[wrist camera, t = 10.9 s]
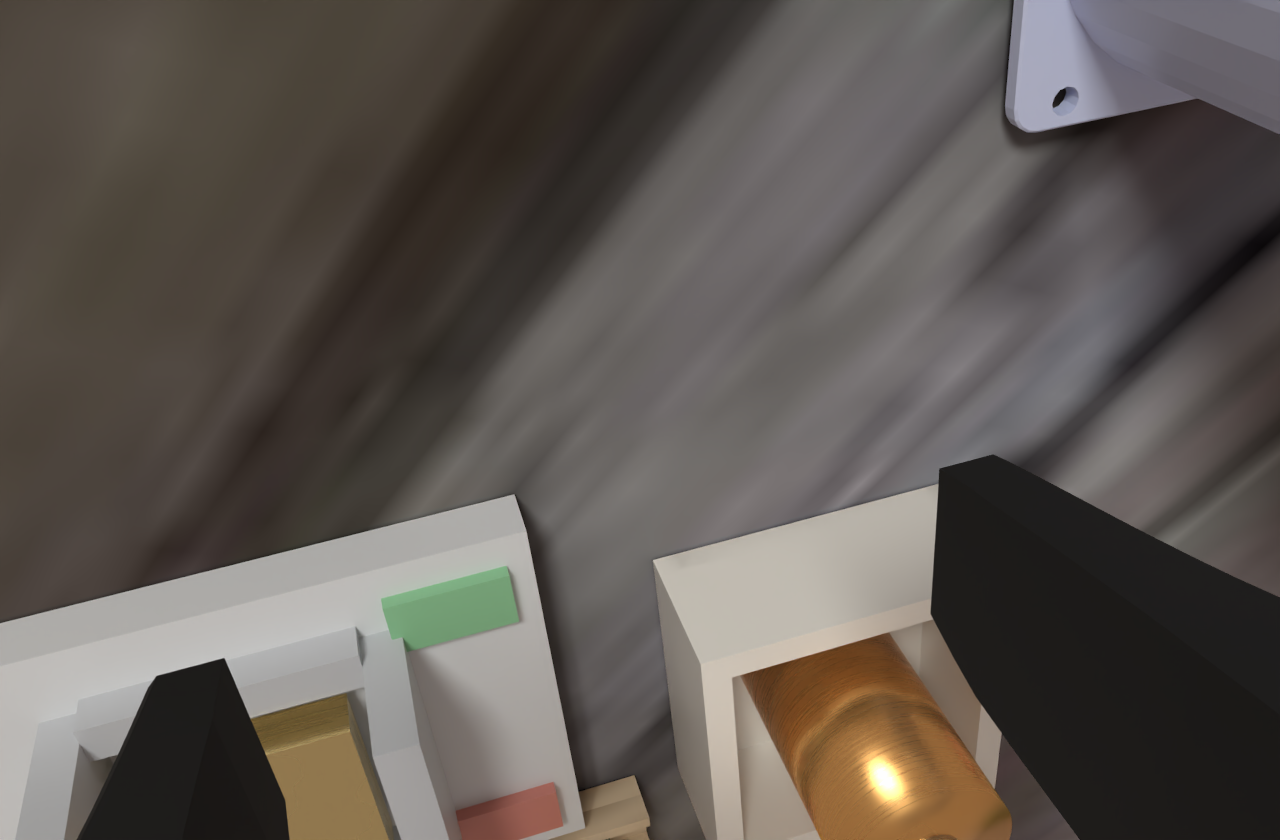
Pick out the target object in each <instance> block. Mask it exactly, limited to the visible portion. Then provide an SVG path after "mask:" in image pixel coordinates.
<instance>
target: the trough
mask: <svg viewBox="0 0 1280 840" xmlns="http://www.w3.org/2000/svg"><path fill="white" fill-rule="evenodd" d="M578 793H579V798H580V803H581V808H582V813H583V818H584V823H585V828H584V829H581V830H578V831H575V832H571V833H568V834H565V835H562V836H558V837H555V838H552V839H549V840H649V837H648V834H647V831H646V827H649V826H650V820H649V816H648V813H647V810H646V807H645V804H644V802H643V799H642V796H641V793H640V790H639V787H638V785H637V782H636V779H635V776H634V775H633V776H630V777H627V778H623V779H620V780H617V781H613V782H610V783H607V784H603V785H600V786H597V787H593V788H590V789H587V790H583V791H580V792H578Z"/></svg>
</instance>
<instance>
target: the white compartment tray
mask: <svg viewBox="0 0 1280 840" xmlns="http://www.w3.org/2000/svg"><path fill="white" fill-rule="evenodd" d="M222 658H225V660H226V663H227V665H228V667H229V670H230V672H231V674H232V677H233V679H234V681H235V684H236V686H237V688H238V691H239V693H240V695H241V698H242V700H243V702H244V705H245V707H246V709H247V712H248V714H249V716H250V719H254V718H257V717H261V716H265V715H268V714H272V713H276V712H279V711H283V710H286V709H290V708H294V707H297V706H301V705H305V704H308V703H312V702H316V701H319V700H323V699H326V698H330V697H334V696H337V695H341V694H345V693H347V696H348V699H349V702H350V705H351V708H352V710H353V713H354V716H355V719H356V722H357V725H358V728H359V730H360V733H361V736H362V739H363V742H364V745H365V747H366V750H367V753H368V756H369V759H370V762H371V765H372V767H373V770H374V773H375V776H376V779H377V782H378V785H379V787H380V790H381V793H382V796H383V799H384V802H385V804H386V807H387V810H388V813H389V816H390V819H391V822H392V827H393V835H394V840H549V839H552V838H555V837H558V836H562V835H565V834H568V833H571V832H575V831H578V830H581V829H584V828H585V823H584V818H583V813H582V808H581V803H580V798H579V793H578V788H577V783H576V778H575V773H574V768H573V763H572V758H571V753H570V748H569V743H568V738H567V733H566V727H565V722H564V717H563V712H562V707H561V702H560V697H559V692H558V687H557V682H556V677H555V672H554V667H553V662H552V657H551V652H550V647H549V642H548V637H547V632H546V627H545V622H544V617H543V612H542V607H541V602H540V597H539V592H538V587H537V582H536V577H535V572H534V567H533V562H532V557H531V552H530V547H529V542H528V537H527V532H526V528H525V525H524V522H523V519H522V516H521V513H520V510H519V507H518V504H517V501H516V498H515V495H510V496H506V497H502V498H498V499H494V500H490V501H486V502H482V503H478V504H474V505H470V506H466V507H462V508H458V509H454V510H450V511H446V512H442V513H438V514H434V515H430V516H426V517H422V518H418V519H414V520H410V521H406V522H402V523H398V524H394V525H390V526H386V527H382V528H378V529H374V530H370V531H366V532H362V533H358V534H354V535H351V536H347V537H343V538H339V539H335V540H331V541H327V542H323V543H319V544H315V545H311V546H307V547H303V548H299V549H295V550H291V551H287V552H283V553H279V554H275V555H271V556H267V557H263V558H259V559H255V560H251V561H247V562H243V563H239V564H235V565H231V566H227V567H223V568H219V569H215V570H211V571H207V572H203V573H199V574H195V575H191V576H187V577H183V578H179V579H175V580H171V581H167V582H163V583H159V584H155V585H151V586H147V587H143V588H139V589H135V590H131V591H127V592H123V593H119V594H115V595H111V596H107V597H103V598H99V599H95V600H91V601H87V602H83V603H79V604H75V605H71V606H68V607H64V608H60V609H56V610H52V611H48V612H44V613H40V614H36V615H32V616H28V617H24V618H20V619H16V620H12V621H8V622H4V623H0V840H77V838H78V836H79V834H80V832H81V830H82V828H83V826H84V824H85V822H86V820H87V818H88V816H89V814H90V812H91V810H92V808H93V806H94V804H95V802H96V800H97V798H98V796H99V794H100V792H101V789H102V787H103V785H104V783H105V781H106V779H107V777H108V775H109V773H110V771H111V768H112V766H113V764H114V762H115V760H116V758H117V756H118V753H119V751H120V749H121V747H122V745H123V742H124V740H125V738H126V736H127V734H128V731H129V729H130V727H131V725H132V722H133V720H134V718H135V716H136V713H137V711H138V709H139V707H140V704H141V702H142V700H143V698H144V695H145V693H146V691H147V689H148V687H149V686H150V684H151V683H152V681H153V680H154V679H155V677H156V676H158V675H162V674H165V673H169V672H173V671H177V670H180V669H184V668H188V667H192V666H196V665H199V664H203V663H207V662H211V661H215V660H218V659H222Z"/></svg>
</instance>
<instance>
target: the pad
mask: <svg viewBox="0 0 1280 840" xmlns="http://www.w3.org/2000/svg"><path fill="white" fill-rule="evenodd" d="M251 721H252V723H253V726H254V728H255V730H256V733H257V735H258V737H259V740H260V742H261V744H262V747H263V749H264V751H265V754H266V756H267V758H268V761H269V763H270V765H271V768H272V770H273V772H274V775H275V777H276V779H277V782H278V784H279V787H280V789H281V791H282V794H283V796H284V798H285V802H286V811H287V820H288V829H289V838H290V840H394V835H393V827H392V822H391V819H390V816H389V813H388V810H387V807H386V804H385V802H384V799H383V796H382V793H381V790H380V787H379V785H378V782H377V779H376V776H375V773H374V770H373V767H372V765H371V762H370V759H369V756H368V753H367V750H366V747H365V745H364V742H363V739H362V736H361V733H360V730H359V728H358V725H357V722H356V719H355V716H354V713H353V710H352V708H351V705H350V702H349V699H348V696H347V693H345V694H341V695H337V696H334V697H330V698H326V699H323V700H319V701H316V702H312V703H308V704H305V705H301V706H297V707H294V708H290V709H286V710H283V711H279V712H276V713H272V714H268V715H265V716H261V717H257V718H254V719H251Z"/></svg>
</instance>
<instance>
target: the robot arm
mask: <svg viewBox="0 0 1280 840" xmlns="http://www.w3.org/2000/svg"><path fill="white" fill-rule="evenodd" d="M1065 87H1066V94H1065V97H1064V100H1063V101H1062V102H1061V103H1060V105H1059V106H1057V107H1055V108H1053V106H1052V103H1053V100H1054V97H1055V96H1056V94H1057V93H1058V92H1059V91H1060V90H1061V89H1063V88H1065ZM1193 99H1200V100H1202V101H1205V102H1207V103H1209V104H1211V105H1214V106H1216V107H1218V108H1221V109H1223V110H1225V111H1227V112H1230V113H1232V114H1234V115H1236V116H1239V117H1241V118H1243V119H1245V120H1248V121H1250V122H1252V123H1255V124H1257V125H1259V126H1261V127H1264V128H1266V129H1268V130H1270V131H1273V132H1275V133H1277V134H1280V0H1014V6H1013V18H1012V30H1011V42H1010V54H1009V65H1008V77H1007V89H1006V101H1005V110H1006V116H1007V118H1008V120H1009V121H1010V123H1011V124H1013V125H1014V126H1016V127H1018V128H1020V129H1021V130H1023V131H1025V132H1027V133H1037V132H1042V131H1046V130H1051V129H1056V128H1060V127H1065V126H1070V125H1075V124H1079V123H1084V122H1089V121H1094V120H1098V119H1103V118H1108V117H1113V116H1117V115H1122V114H1127V113H1131V112H1136V111H1141V110H1146V109H1150V108H1155V107H1160V106H1165V105H1169V104H1174V103H1179V102H1183V101H1188V100H1193ZM930 614H931V616H932V618H933V620H934V622H935V624H936V626H937V627H938V629H939V631H940V633H941V635H942V637H943V639H944V641H945V643H946V644H947V646H948V648H949V650H950V652H951V654H952V656H953V658H954V660H955V661H956V663H957V665H958V667H959V668H960V670H961V672H962V674H963V675H964V677H965V679H966V681H967V682H968V684H969V686H970V688H971V689H972V691H973V693H974V695H975V696H976V698H977V699H978V701H979V702H980V704H981V705H982V706H983V708H984V709H985V711H986V712H987V713H988V715H989V716H990V718H991V719H992V720H993V722H994V723H995V725H996V726H997V727H998V729H999V730H1000V731H1001V733H1002V734H1003V736H1004V737H1005V738H1006V740H1007V741H1008V742H1009V744H1010V745H1011V747H1012V748H1013V749H1014V751H1015V752H1016V754H1017V755H1018V756H1019V758H1020V759H1021V760H1022V762H1023V763H1024V764H1025V766H1026V767H1027V769H1028V770H1029V771H1030V773H1031V774H1032V775H1033V777H1034V778H1035V779H1036V781H1037V782H1038V783H1039V785H1040V786H1041V788H1042V789H1043V790H1044V792H1045V793H1046V794H1047V796H1048V797H1049V798H1050V800H1051V801H1052V802H1053V804H1054V805H1055V806H1056V808H1057V809H1058V811H1059V812H1060V813H1061V815H1062V816H1063V817H1064V819H1065V820H1066V821H1067V823H1068V824H1069V825H1070V827H1071V828H1072V830H1073V831H1074V832H1075V834H1076V835H1077V836H1078V838H1079V839H1080V840H1280V597H1277V596H1275V595H1273V594H1271V593H1269V592H1266V591H1264V590H1262V589H1260V588H1257V587H1255V586H1253V585H1251V584H1248V583H1246V582H1244V581H1242V580H1240V579H1237V578H1235V577H1233V576H1231V575H1229V574H1227V573H1225V572H1223V571H1221V570H1219V569H1216V568H1214V567H1212V566H1210V565H1208V564H1206V563H1204V562H1202V561H1200V560H1198V559H1196V558H1194V557H1192V556H1190V555H1188V554H1186V553H1184V552H1182V551H1180V550H1178V549H1176V548H1174V547H1172V546H1170V545H1168V544H1166V543H1164V542H1162V541H1160V540H1158V539H1156V538H1154V537H1152V536H1150V535H1148V534H1146V533H1144V532H1142V531H1140V530H1138V529H1136V528H1135V527H1133V526H1131V525H1129V524H1127V523H1125V522H1123V521H1121V520H1119V519H1117V518H1115V517H1113V516H1112V515H1110V514H1108V513H1106V512H1104V511H1102V510H1100V509H1098V508H1096V507H1094V506H1093V505H1091V504H1089V503H1087V502H1085V501H1083V500H1081V499H1079V498H1077V497H1076V496H1074V495H1072V494H1070V493H1068V492H1066V491H1064V490H1062V489H1060V488H1059V487H1057V486H1055V485H1053V484H1051V483H1049V482H1047V481H1045V480H1043V479H1042V478H1040V477H1038V476H1036V475H1034V474H1032V473H1030V472H1028V471H1026V470H1024V469H1022V468H1020V467H1018V466H1016V465H1014V464H1012V463H1010V462H1008V461H1006V460H1004V459H1002V458H1000V457H998V456H995V455H989V456H986V457H982V458H978V459H974V460H971V461H967V462H963V463H959V464H955V465H952V466H948V467H944V468H940V470H939V485H938V501H937V517H936V533H935V548H934V564H933V580H932V596H931V611H930ZM77 840H290V838H289V829H288V820H287V811H286V802H285V798H284V796H283V794H282V791H281V789H280V787H279V784H278V782H277V779H276V777H275V775H274V772H273V770H272V768H271V765H270V763H269V761H268V758H267V756H266V754H265V751H264V749H263V747H262V744H261V742H260V740H259V737H258V735H257V733H256V730H255V728H254V726H253V723H252V721H251V719H250V716H249V714H248V712H247V709H246V707H245V705H244V702H243V700H242V698H241V695H240V693H239V691H238V688H237V686H236V684H235V681H234V679H233V677H232V674H231V672H230V670H229V667H228V665H227V663H226V660H225V658H222V659H218V660H215V661H211V662H207V663H203V664H199V665H196V666H192V667H188V668H184V669H180V670H177V671H173V672H169V673H165V674H162V675H158V676H156V677H155V679H154V680H153V681H152V683H151V684H150V686H149V687H148V689H147V691H146V693H145V695H144V698H143V700H142V702H141V704H140V707H139V709H138V711H137V713H136V716H135V718H134V720H133V722H132V725H131V727H130V729H129V731H128V734H127V736H126V738H125V740H124V742H123V745H122V747H121V749H120V751H119V753H118V756H117V758H116V760H115V762H114V764H113V766H112V768H111V771H110V773H109V775H108V777H107V779H106V781H105V783H104V785H103V787H102V789H101V792H100V794H99V796H98V798H97V800H96V802H95V804H94V806H93V808H92V810H91V812H90V814H89V816H88V818H87V820H86V822H85V824H84V826H83V828H82V830H81V832H80V834H79V836H78V838H77Z"/></svg>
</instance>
